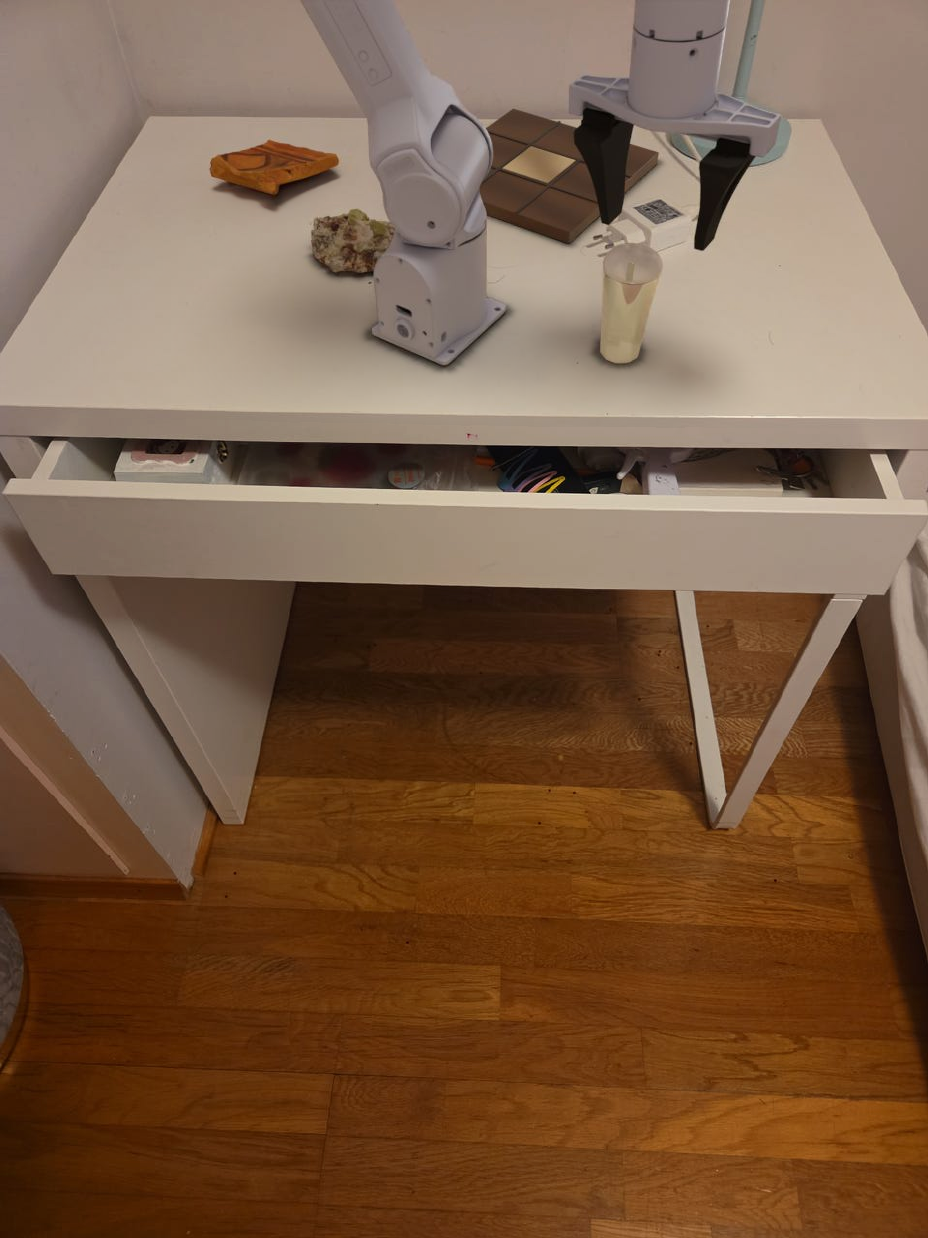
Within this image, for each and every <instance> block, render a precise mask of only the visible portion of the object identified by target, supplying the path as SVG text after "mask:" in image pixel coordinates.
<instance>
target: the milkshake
mask: <svg viewBox="0 0 928 1238" xmlns="http://www.w3.org/2000/svg"><path fill="white" fill-rule="evenodd" d="M663 268H664V262H663V258H662V257H661V255H660V254H659V252H658V251H656V250H655V248H653V247H651V246H649V245H648V244H645V243H639V242H638V243H637V242H628V243H621V244H617V245H615V246H613V247H612V248H611V249H609V250H608V251H607V252H606V254H605V256H604V258H603V260H602V289H601V290H602V292H601V293H602V294H601V295H602V297H601V298H602V300H601V301H602V302H601V326H600V343H599V345H600V347H599V353H600V354H601V356H602V357H603V358H604V359H605V360H606V361H608V362H612V363H614V364H617V365H618V364H630V363H631V362H633V361H634V360H636V359H637V358H638V357H639V354H640V349H641V346H642V342H643V339H644V334H645V330H646V326H647V323H648V319H649V316H650V311H651V308H652V305H653V302H654V299H655V295H656V292H657V290H658V286H659V283H660V279H661V276H662V272H663Z"/></svg>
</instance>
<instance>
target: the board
mask: <svg viewBox="0 0 928 1238" xmlns="http://www.w3.org/2000/svg"><path fill="white" fill-rule="evenodd" d="M485 128H486V130H487V131H488V133H489V135H490V138H491V141H492V146H493V161H492V165H491V168H490V171H489V173H488V174H487V176H486V178H485V179H484V180H483V181H482V183H481V185H480V187H479V192H480V195H481V199H482V202H483V204H484V207H485V209H486V213H487V216H489V217H492V218H495V219H498V220H500V221H504V222H507V223H510V224H512V225H515V226H518V227H521V228H523V229H526V230H529V231H532V232H535V233H537V234H540V235H543V236H546V237H549V238H552V239H555V240H557V241H560V242H563V243H565V244H570V243H571V242H573V241H574V240H575V239H576V238H577V237H578V236H579V235H581V233H582V232H584V231H585V230H586V229H587V228H588V227H589V226H590V225H591V224H593V222H595V221H596V219H598V218H599V217H600V212H599V206H598V201H597V197H596V193H595V189H594V185H593V182H592V179H591V176H590V173H589V171H588V168H587V166H586V164H585V161H584V159H583V157H582V155H581V153H580V152H579V150H578V148H577V147H576V145H575V144H574V130H575V129H576V128H577V126H573V125H569V124H567V123H563V122H562V121H561V120H558V121H556V120H552V119H549V118H547V117H543V116H540V115H536V114H532V113H529V112H526V111H523V110H520V109H516V108H511V109H510V110H509V111H508V112H506V113H505V114H504V115H502V116H501V117H499V118H498V119H497V120H495V121H494V122H492V123H491V124H490V125H488V126H487V127H485ZM659 154H660V152H659V151H656V150H654V149H653V150H652V149H649V148H646V147H643V146H639V145H636V144H632V143H630V146H629V152H628V158H627V164H626V177H625V193H627V192H628V190H630V189H631V188H632V187H633V186H634V185H636V184H637V183H638V182H639V181H640V180H641V179H642V178H643V177H644V176H645V175H647V173H648V172H650V171H651V170H652V169H653V168H654V167H655V166H656V165H658V161H659Z"/></svg>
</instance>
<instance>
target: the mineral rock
mask: <svg viewBox="0 0 928 1238" xmlns="http://www.w3.org/2000/svg"><path fill="white" fill-rule="evenodd" d="M312 227H313V229H312V230H311V232H310V234H311V237H310V238H311V240H310V242H311V246H312V253H313V256H314V257H315V258H316V259H317V260H319V262H320V263H322V264H324V265H325V266H327V267H328V269H330V270H331V272H333V273H335V274H336V273H338V272H353V273H358V274H362V273H367V272H372V273H373V272H374V267H375V264H376V263H377V261H378V260H379V258H380V257H381V256H382V255H383V254H384V253H385V251H386V250H387V248H388V247H389V245H390V244H391V241H392V239H393V236H394V232H395V228H394V227H393V226H392V224H391V223H390V221H385V220H384V221H383V220H376V219H375V218H373V219H372V218H370V217H368V215H367V213H365V212H364V211H362V210H361V209H359V208H352V209H350V210H349V211H348V213H342V214H340V215H335V216H330V215H325V216H323V217H317V216H316V217H315V218H314V219H313V226H312Z"/></svg>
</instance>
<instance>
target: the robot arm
mask: <svg viewBox="0 0 928 1238" xmlns="http://www.w3.org/2000/svg"><path fill="white" fill-rule="evenodd" d="M299 2H300V4H301V5H302V7H303V8H304V10H305V12H306V13H307V15H308V17H309V19H310V21H311V22H312V25H313V26H314V28H315V29H316V31H317V33H318V35H319V37H320V38H321V40H322V42H323V44H324V45H325V47H326V49H327V51H328V52H329V55H330V56H331V58H332V59H333V61H334V63H335V64H336V66H337V68H338V70H339V72H340V74H341V76H342V77H343V79H344V80H345V82H346V84H347V86H348V87H349V89H350V91H351V94H352V95H353V97H354V98H355V100H356V102H357V103H358V105H359V108H360V109H361V111H362V112H363V114H364V116H365V118H366V120H367V137H368V140H367V141H368V159H369V160H368V161H369V166H370V168H371V170H372V171H373V173H374V175H375V177H376V179H377V181H378V183H379V187H380V188H381V189H380V190H381V193H382V195H381V196H382V203H383V204H382V205H383V208H384V212H385V216H386V218H387V219H388V222H390V223H391V224H392V226H393V227H394V228H395V232H394V236H393V239H392V241H391V244H390V245H389V247H388V248H387V250H386V251H385V253H384V254H383V255H382V256H381V257H380V258H379V260H378V261H377V263H376V264H375V267H374V271H373V272H372V273H373V277H372V278H373V285H374V294H375V303H376V314H377V322H378V323H376V325H374V326H373V327H372V328H371V333H372V335H373V336H374V337H376V338H379V339H381V340H384V341H386V342H388V343H391V344H393V345H395V346H397V347H400V348H403V349H404V350H407V351H409V352H411V353H414V354H416V355H418V356H420V357H422V358H425V359H427V360H430V361H431V362H434V363H437V364H439V365H440V366H441V365H442V366H447V365H449V364H450V363H451V362H452V361H453V360H455V359H456V358H457V357H458V356H459V355H460V354H461V353H462V352H464V351H465V349H467V348H468V347H469V346H470V345H471V344H472V343H473V342H474V341H476V339H478V337H480V336H481V335H482V334H483V333H484V332H485V331H487V330H488V329H489V328H490V327H491V326H492V325H493V324H494V323H495V322H496V321H498V319H499V318H501V317H502V316H503V315H504V313H506V312H507V305H506V304H505V303H503V302H500V301H498V300H495V299H493V298H490V297H487V282H488V281H487V274H488V273H487V267H488V266H487V264H488V263H487V260H488V257H487V255H488V253H487V252H488V250H487V249H488V247H487V246H488V245H487V243H488V215H487V213H486V209H485V207H484V204H483V202H482V199H481V195H480V192H479V187H480V185H481V183H482V181H483V180H484V179H485V178H486V176H487V174H488V173H489V171H490V168H491V165H492V161H493V146H492V141H491V138H490V135H489V133H488V131H487V130H486V128H487V127H486V126H485V125H484V123H483V122H482V121H481V120H480V119H479V118H478V117H476V115H474V114H473V113H472V112H470V111H469V110H468V109H467V108H466V107H465V106H464V105H463V103H462V101H461V100H460V99H459V97H458V95H457V93H456V91H455V89H454V87H453V85H451V84H450V83H449V82H447V81H445V80H443V78H440V77H438V76H436V75H434V74H432V73H431V72H430V70H429V69H428V67H427V65H426V62H425V61H424V59H423V57H422V55H421V53H420V50H419V49H418V47H417V45H416V42H415V41H414V39H413V36H412V35H411V32H410V31H409V29H408V27H407V25H406V23H405V20H404V19H403V17H402V15H401V12H400V11H399V9H398V7H397V5H396V3H395V1H394V0H299ZM730 3H731V0H634V9H633V11H634V12H633V24H632V36H631V50H630V64H629V77H618V76H600V75H591V74H586V73H583V74H581V75H580V76H579V77H577V78H576V79H575V80H573V81H572V83H570V84H569V85H568V87H569V88H568V114H569V115H572V116H576V117H582V119H581V120H580V125H578V127H576V129H575V130H574V144H575V145H576V147H577V148H578V150H579V152H580V153H581V155H582V157H583V159H584V161H585V164H586V166H587V168H588V171H589V173H590V176H591V179H592V182H593V185H594V189H595V193H596V197H597V201H598V206H599V212H600V216H599V217H600V222H601V224H603V225H607V226H610V224H612V223H613V222H614V221H615V220H616V219H617V218H618V217H619V216H620V215H621V214H622V211H623V207H624V202H625V193H626V192H625V177H626V164H627V158H628V152H629V146H630V144H631V141H632V135H633V131H634V127H638V128H640V129H643V130H646V131H650V132H657V133H669V134H672V133H673V134H678V135H684V136H687V137H688V136H689V137H691V138H692V137H693V138H698V139H701V140H706V141H711V142H715V143H716V144H715V147H714V148H712V149H710V151H709V152H708V153H707V154H706V155H705V156H704V157H703V158H701V160H699V162H698V163H699V164H698V171H699V172H698V173H699V207H698V208H699V209H698V215H697V220H696V226H695V232H694V236H693V237H694V238H693V249H694V250H696V251H700V252H703V251H705V250H706V249H707V248H708V247H709V245H710V244H711V243H712V242H713V241H714V240H715V237H716V234H717V231H718V228H719V225H720V223H721V220H722V217H723V215H724V213H725V211H726V208H727V207H728V204H729V202H730V201H731V198H732V196H733V194H734V192H735V190H736V189H737V187H738V186H739V184H740V182H741V180H742V179H743V177H744V176H745V174H746V172H747V171H748V169H749V168H750V166H751V164H752V163H753V161H754V160H755V158H756V157H757V158H762V159H763V158H765V157H766V156H767V154H769V153H770V152H771V151H772V149H773V148H774V147H775V146H776V144H777V140H778V134H779V129H780V124H781V120H782V114H781V113H777V112H772V111H769V110H765V109H762V108H760V107H757V106H754V105H752V104H750V103H748V102H746V101H743V100H742V99H741V100H740V99H739V98H736V97H733V96H732V95H729V94H726V93H725V92H722V91H720V90H718V86H719V85H718V83H719V77H720V71H721V65H722V64H721V63H722V57H723V50H724V43H725V37H726V36H725V35H726V30H727V22H728V17H729V9H730Z"/></svg>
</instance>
